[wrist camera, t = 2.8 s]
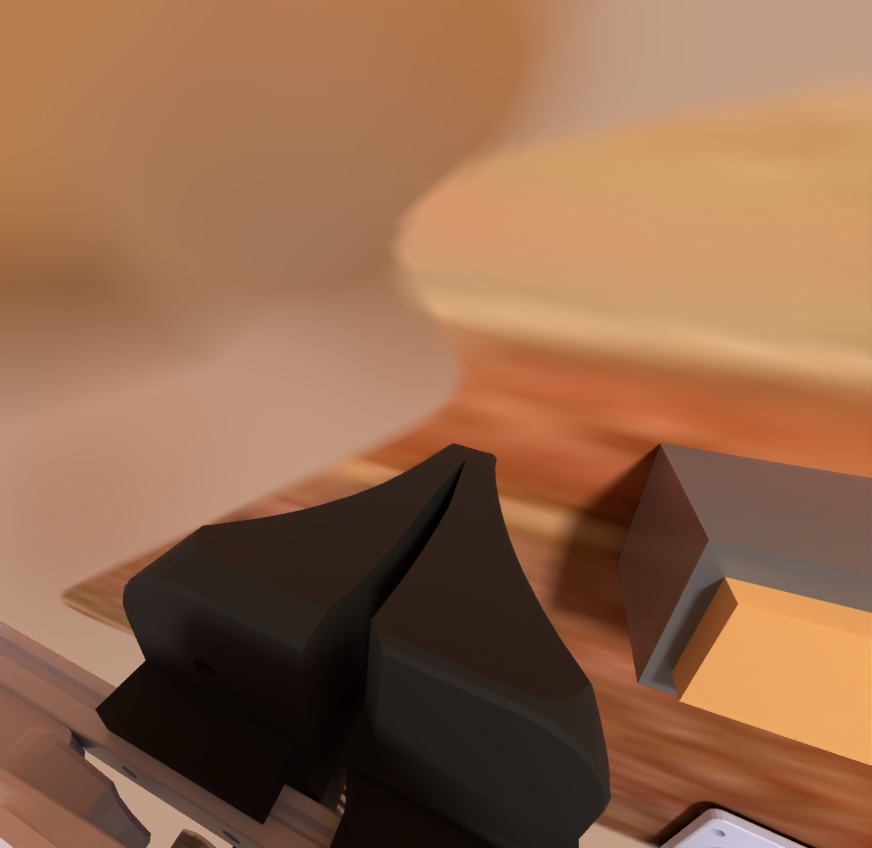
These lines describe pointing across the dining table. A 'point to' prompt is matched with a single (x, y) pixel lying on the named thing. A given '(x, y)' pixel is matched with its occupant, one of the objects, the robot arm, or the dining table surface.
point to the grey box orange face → (755, 594)
